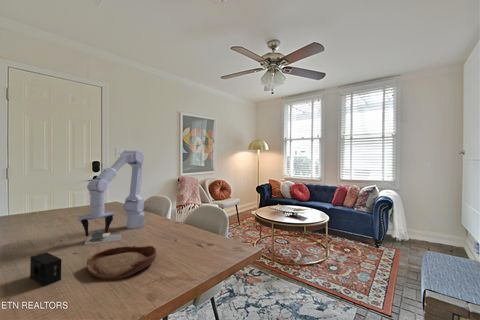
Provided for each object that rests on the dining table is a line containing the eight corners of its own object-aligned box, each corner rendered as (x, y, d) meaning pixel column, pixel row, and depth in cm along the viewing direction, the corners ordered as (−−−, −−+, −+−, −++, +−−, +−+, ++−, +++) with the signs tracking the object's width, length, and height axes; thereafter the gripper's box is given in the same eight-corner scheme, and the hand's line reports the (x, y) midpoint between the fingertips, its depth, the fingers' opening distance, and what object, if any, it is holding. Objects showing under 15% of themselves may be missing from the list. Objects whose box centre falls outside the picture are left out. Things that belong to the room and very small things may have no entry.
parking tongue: (110, 234, 114) (110, 232, 114) (109, 237, 110) (109, 235, 110) (103, 235, 113) (103, 233, 113) (102, 238, 108) (102, 236, 108)
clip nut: (101, 240, 106) (101, 229, 106) (102, 242, 103) (102, 231, 103) (91, 242, 104) (91, 231, 104) (92, 244, 100) (92, 233, 100)
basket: (75, 286, 68) (75, 270, 68) (97, 258, 88) (97, 245, 88) (153, 276, 75) (153, 261, 75) (157, 252, 94) (158, 240, 94)
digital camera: (24, 279, 71) (25, 257, 71) (45, 272, 76) (46, 251, 76) (39, 288, 66) (39, 265, 66) (61, 280, 71) (61, 258, 71)
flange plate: (121, 237, 111) (121, 233, 111) (120, 242, 104) (120, 238, 104) (88, 240, 105) (88, 237, 105) (84, 246, 98) (84, 242, 98)
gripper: (112, 201, 111) (112, 228, 111) (77, 205, 101) (76, 235, 101) (116, 204, 106) (115, 232, 106) (79, 208, 96) (78, 239, 96)
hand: (96, 234), depth 103 cm, fingers open, 7 cm apart
